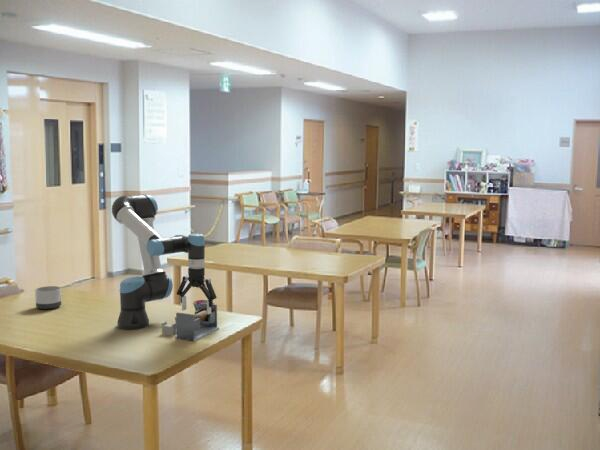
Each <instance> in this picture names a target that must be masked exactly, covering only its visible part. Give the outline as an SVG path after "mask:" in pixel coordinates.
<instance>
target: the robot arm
mask: <svg viewBox="0 0 600 450" xmlns="http://www.w3.org/2000/svg"><path fill="white" fill-rule="evenodd" d="M158 210H159V206H158V203H157V201H156V199H155V197H154V196H152V195H150V194H131V195H130V194H129V195H127V194H126V195H121V196H119V197H117V198H116V199H115V200H114V201H113V203H112V205H111V213H112V216H113V218H114V219H115V220H116V222H118V223H119V224H120V225H124V226H125V227H126V228H128V229H129V230H130V231H131V232H132V233H133V234H134V235H135V236H136V237H137V241H138V246H139V250H140V251H139V252H140V255H141V262H142V264H143V265H142V266H143V271H144V272H143V274H142V275H141V276H140V275H139V276H138V275H137V276H130V277H127V278H124V279H122V281H121V282H120V283H119V296H120V297H119V299H120V300H119V301H120V302H119V303H120V312H119V316H118V318H117V321H116V322H117V325H116V326H117V328H118V329H120V330H128V331H129V330H139V329H144V328H147V327H149V326H150V319H149V316H148V314H147V310H146V303H149V302H154V301H160V300H163V299H167V298H168V297H170V296H171V295H172V291H173V286H174V284H173V280H172V278H171V276H170V275H169V274H167V273H166V270H165V269H163V268H162V264H161V258H160V256H164V255H171V254H177V253H178V254H179V253H187V255H188V256H187V257H188V258H187V261H188V263H187V264H188V265H187V266H188V269H187V275H184V276H182V278H181V282H180V285H179V288H178V289H177V291H176V295H177V296H180V297H179V298H180V304H181V311H186V310H187V295H186V294H187V293H188V292H189V291H190V290H191V289H192V288H196V289H198V288H199V289H200V290H201V291H202V293H203V295H204V296H205V297H206V298H207V299H206V300H207V314H210V313H211V307H212V306H213V303H214V302H213V301H214V300H216V299H217V297H218V296H217V294H216V292H215V289H214V287H213V285H212V282H211V278H205V272H206V270H205V263H206V262H205V255H206V253H205V252H206V249H205V248H206V242H205V241H206V239H205V234H203V233H190V234H188V236H186V235H183V234H177V235H176V234H175V235H174V236H171V237H163V236H162V235H161V234H159V233H158V232H157V231H156V230H155V229H154V221H155V220H156V216H157V214H158ZM186 284H187V285H186ZM185 286H186V287H185Z"/></svg>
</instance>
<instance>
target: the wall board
mask: <svg viewBox="0 0 600 450" xmlns="http://www.w3.org/2000/svg"><path fill="white" fill-rule="evenodd" d="M218 330H220V326H217V327H209V326H202V325H200V329H199V330H197V331H195V338H194V341H193V342H197V341H200V340H201V339H203V338H205V337H207V336H209V335H210V334H212V333H214V332H216V331H218ZM180 338H182V337H180ZM174 339H177V335H174ZM184 339H185V340H184V341H187V340H186V338H184ZM187 339H188V338H187ZM177 340H178V339H177ZM189 340H190V338H189ZM189 340H188V341H189Z"/></svg>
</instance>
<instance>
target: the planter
mask: <svg viewBox="0 0 600 450" xmlns="http://www.w3.org/2000/svg"><path fill="white" fill-rule="evenodd" d="M61 288H62V287H60V286H56V285H55V286H54V285H52V286H51V285H49V286H41V287H36V289H34V292H35V307H36V308H38V309H41V310H45V309H47V310H53V309H52V308H54V309H57V308H58V307H60V306H61V305H62V289H61Z"/></svg>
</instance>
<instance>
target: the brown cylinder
mask: <svg viewBox="0 0 600 450" xmlns="http://www.w3.org/2000/svg"><path fill="white" fill-rule="evenodd" d="M193 315H194V320H195V319H197V318H200V322H202V321H204V320H207V319H208V314H207V310H204V311H201V312H199V313H197V314H195V313H194V314H193Z"/></svg>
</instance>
